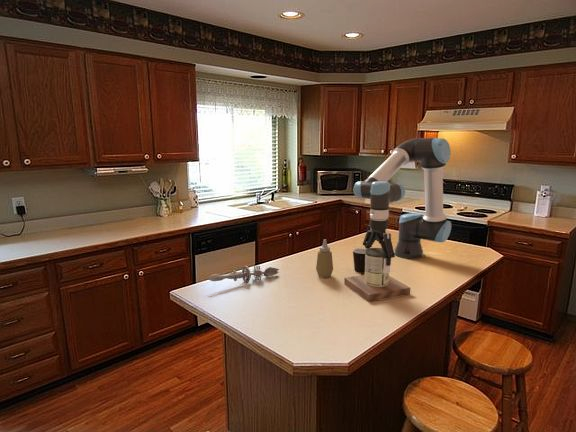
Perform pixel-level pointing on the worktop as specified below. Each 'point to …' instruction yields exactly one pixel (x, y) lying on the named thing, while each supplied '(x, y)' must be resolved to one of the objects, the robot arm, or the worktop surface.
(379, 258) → the coffee can
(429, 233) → the robot arm
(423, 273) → the worktop surface
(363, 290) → the walnut block
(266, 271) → the spaceship
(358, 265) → the coffee mug
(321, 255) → the squeeze bottle
